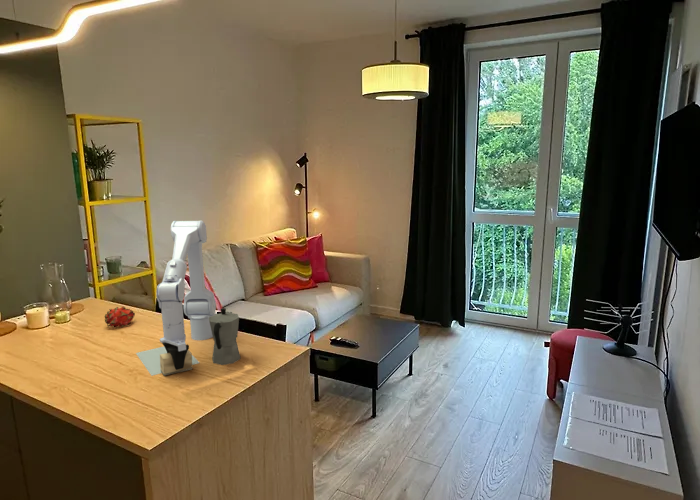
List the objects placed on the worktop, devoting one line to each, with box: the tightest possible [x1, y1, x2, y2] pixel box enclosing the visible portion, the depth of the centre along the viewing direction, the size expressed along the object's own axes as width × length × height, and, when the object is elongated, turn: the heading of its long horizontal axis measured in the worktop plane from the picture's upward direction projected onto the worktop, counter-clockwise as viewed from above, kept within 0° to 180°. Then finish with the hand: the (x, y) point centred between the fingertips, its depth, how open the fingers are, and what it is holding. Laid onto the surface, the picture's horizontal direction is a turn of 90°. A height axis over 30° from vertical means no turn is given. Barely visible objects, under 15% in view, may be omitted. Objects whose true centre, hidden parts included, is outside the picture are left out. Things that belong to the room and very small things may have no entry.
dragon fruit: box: [104, 306, 136, 329], centre depth 175 cm, size 8×8×12 cm
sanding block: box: [160, 349, 193, 376], centre depth 134 cm, size 8×4×5 cm, turn 126°
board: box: [135, 346, 200, 377], centre depth 143 cm, size 14×20×2 cm
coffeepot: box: [209, 307, 241, 366], centre depth 139 cm, size 15×9×18 cm, turn 0°
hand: (177, 365), depth 134 cm, fingers closed on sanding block, 4 cm apart
